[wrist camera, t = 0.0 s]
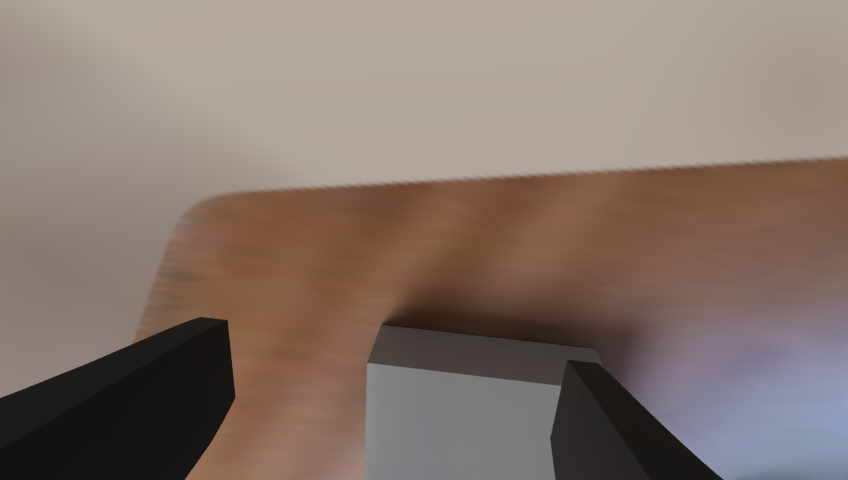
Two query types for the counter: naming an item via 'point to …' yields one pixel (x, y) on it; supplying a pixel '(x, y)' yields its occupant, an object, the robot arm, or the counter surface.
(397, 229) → the counter surface
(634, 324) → the counter surface
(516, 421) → the stone base
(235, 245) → the counter surface
